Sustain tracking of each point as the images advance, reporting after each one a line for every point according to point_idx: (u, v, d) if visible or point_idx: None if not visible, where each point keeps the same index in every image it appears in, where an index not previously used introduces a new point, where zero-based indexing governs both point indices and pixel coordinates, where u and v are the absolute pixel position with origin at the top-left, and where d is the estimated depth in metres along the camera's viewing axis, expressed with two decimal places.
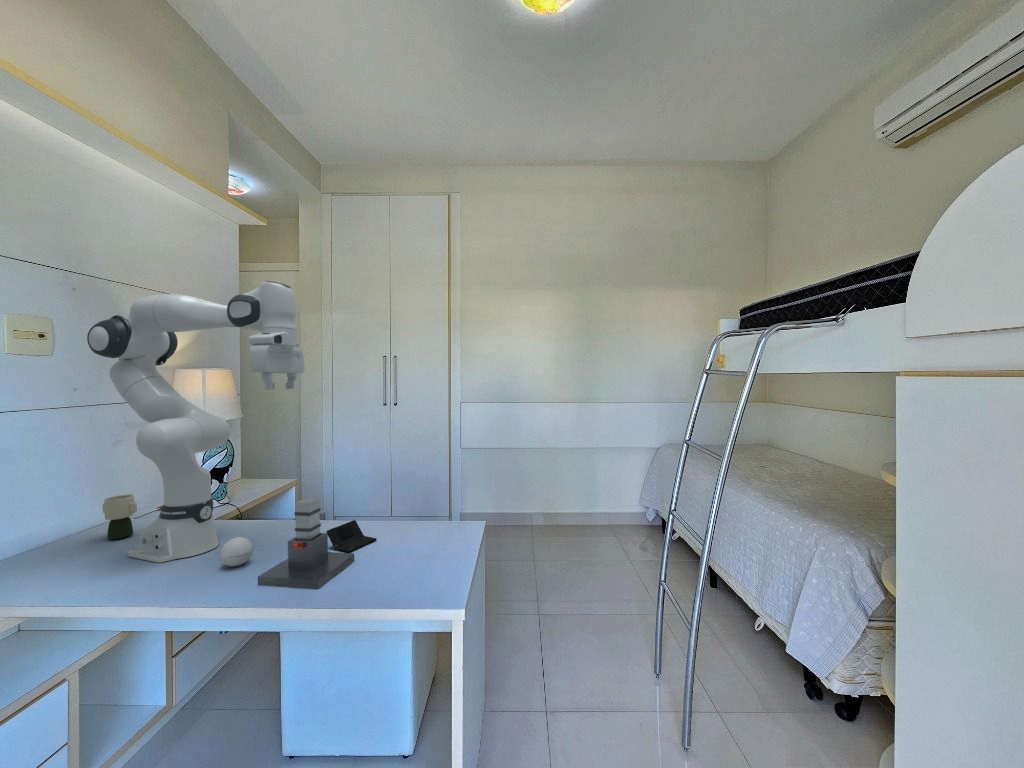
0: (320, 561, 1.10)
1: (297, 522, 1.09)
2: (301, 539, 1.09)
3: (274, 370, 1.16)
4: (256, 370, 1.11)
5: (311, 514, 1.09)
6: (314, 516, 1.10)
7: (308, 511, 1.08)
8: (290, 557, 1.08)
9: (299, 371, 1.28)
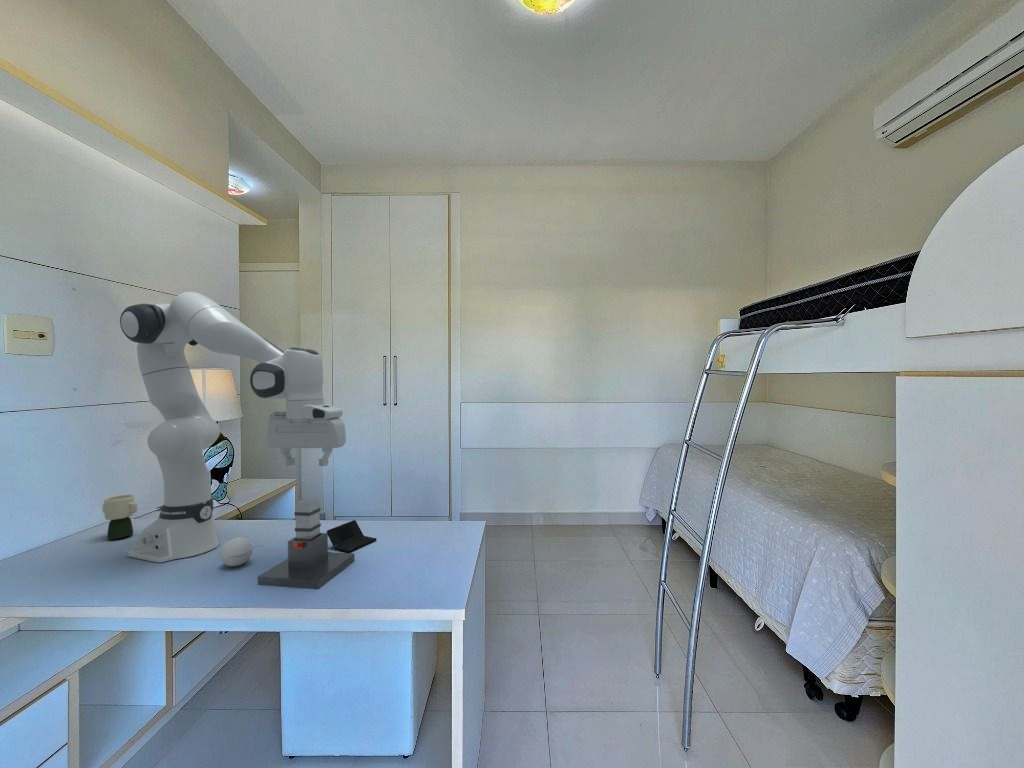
0: (320, 561, 1.10)
1: (297, 522, 1.09)
2: (301, 539, 1.09)
3: None
4: (341, 445, 1.09)
5: (311, 514, 1.09)
6: (314, 516, 1.10)
7: (308, 511, 1.08)
8: (290, 557, 1.08)
9: None
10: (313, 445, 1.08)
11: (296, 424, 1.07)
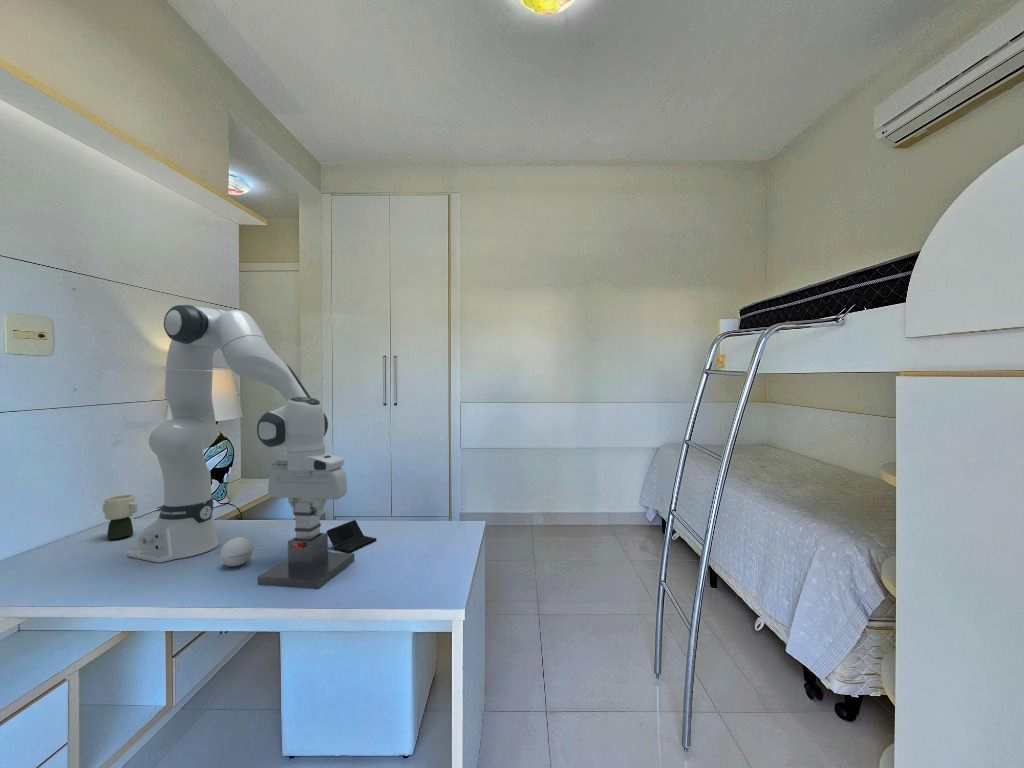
0: (320, 561, 1.10)
1: (297, 522, 1.09)
2: (301, 539, 1.09)
3: None
4: (342, 496, 1.09)
5: (311, 514, 1.09)
6: (314, 516, 1.10)
7: (308, 511, 1.08)
8: (290, 557, 1.08)
9: None
10: (314, 496, 1.08)
11: (297, 475, 1.08)
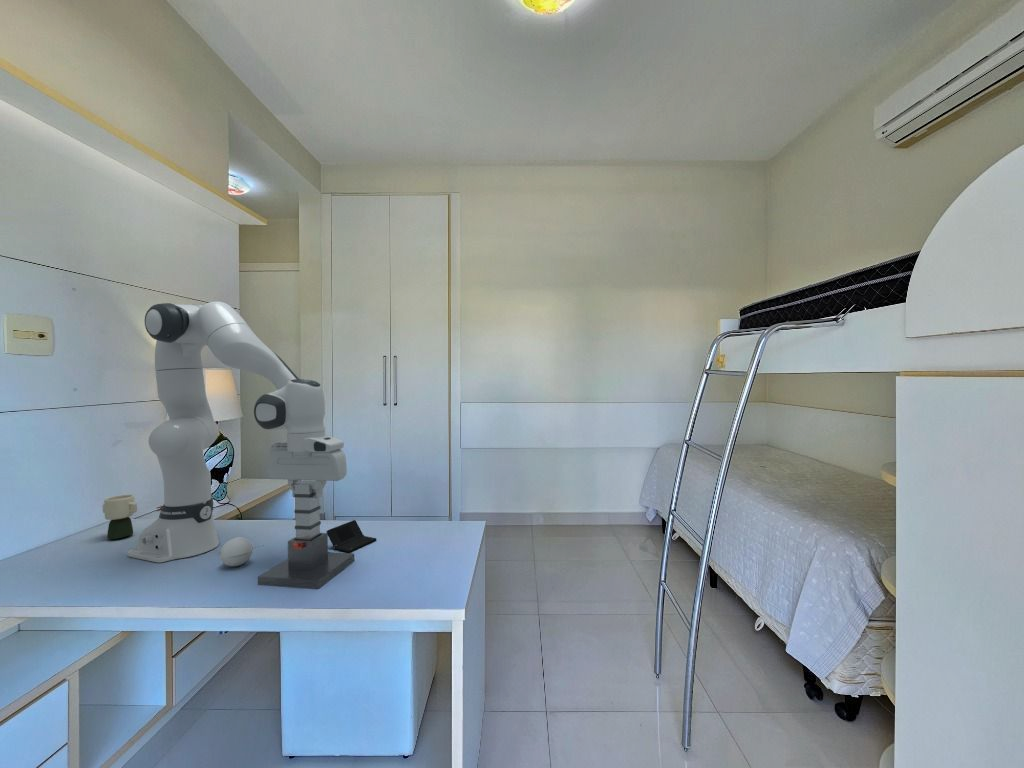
0: (320, 561, 1.10)
1: (297, 504, 1.09)
2: (301, 521, 1.09)
3: None
4: (341, 478, 1.09)
5: (311, 496, 1.09)
6: (314, 498, 1.10)
7: (308, 493, 1.08)
8: (290, 557, 1.08)
9: None
10: (314, 477, 1.08)
11: (297, 456, 1.08)
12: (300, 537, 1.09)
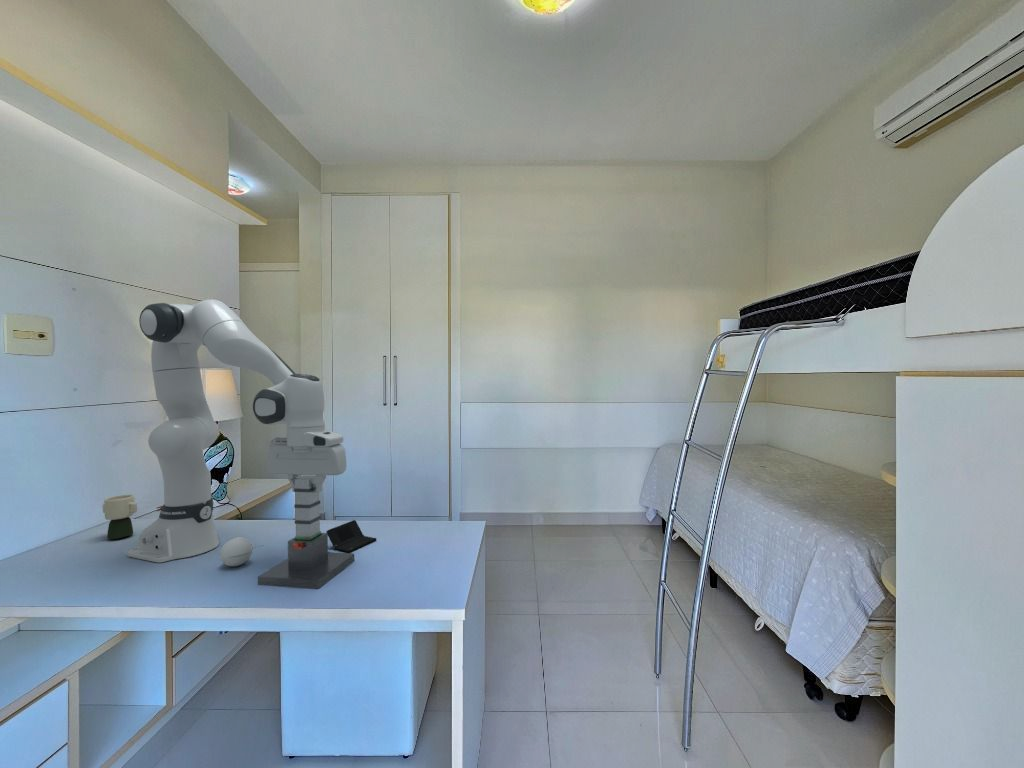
0: (320, 561, 1.10)
1: (297, 498, 1.09)
2: (301, 515, 1.09)
3: None
4: (341, 472, 1.09)
5: (311, 490, 1.09)
6: (314, 493, 1.10)
7: (308, 487, 1.08)
8: (290, 557, 1.08)
9: None
10: (314, 472, 1.08)
11: (297, 451, 1.07)
12: (300, 531, 1.09)
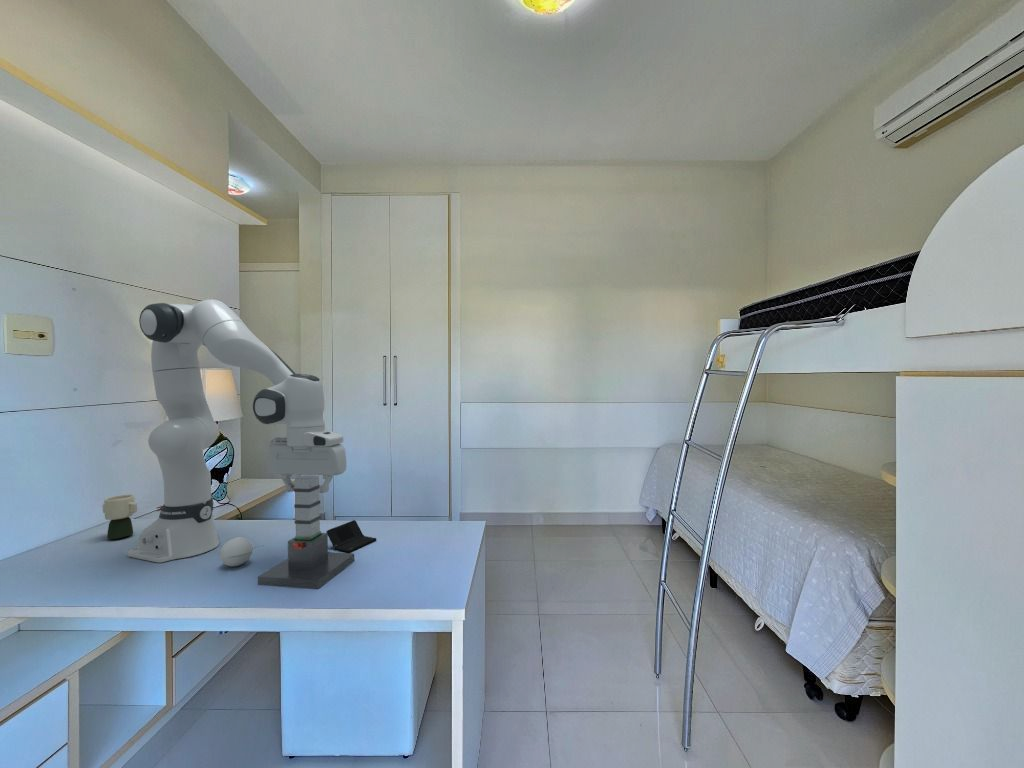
0: (320, 561, 1.10)
1: (297, 498, 1.09)
2: (301, 515, 1.09)
3: None
4: (341, 472, 1.09)
5: (311, 490, 1.09)
6: (314, 493, 1.10)
7: (308, 487, 1.08)
8: (290, 557, 1.08)
9: None
10: (314, 472, 1.08)
11: (297, 451, 1.07)
12: (300, 531, 1.09)
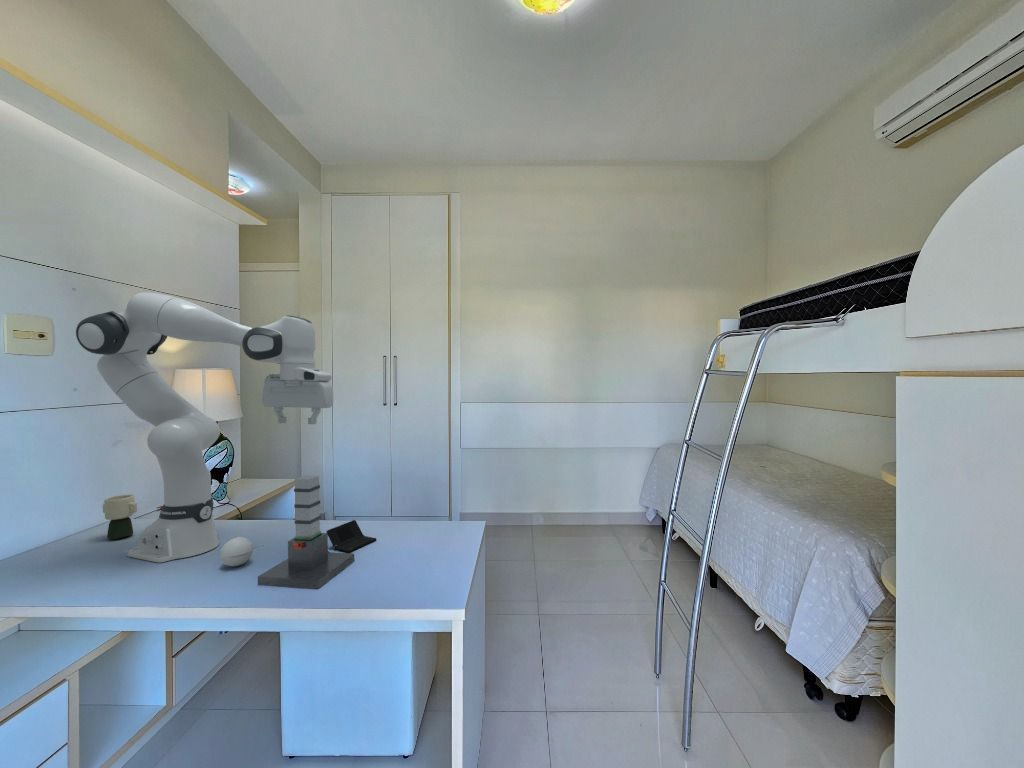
0: (320, 561, 1.10)
1: (297, 498, 1.09)
2: (301, 515, 1.09)
3: None
4: (328, 406, 1.19)
5: (311, 490, 1.09)
6: (314, 493, 1.10)
7: (308, 487, 1.08)
8: (290, 557, 1.08)
9: None
10: (303, 405, 1.19)
11: (288, 385, 1.18)
12: (300, 531, 1.09)
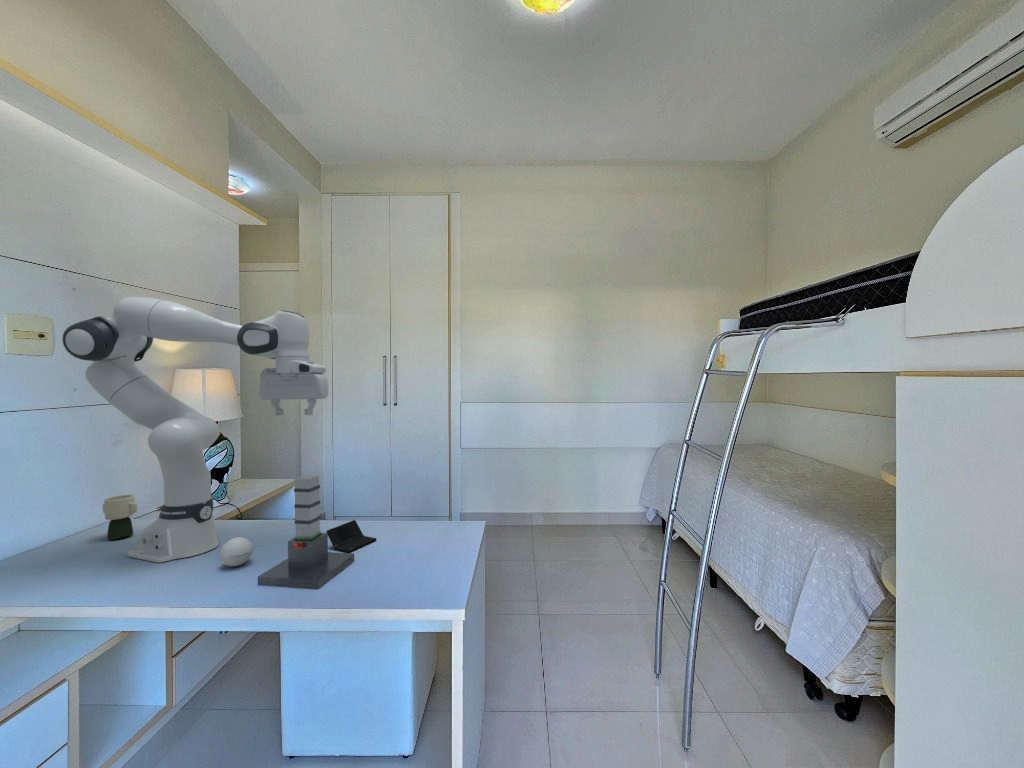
0: (320, 561, 1.10)
1: (297, 498, 1.09)
2: (301, 515, 1.09)
3: None
4: (323, 397, 1.24)
5: (311, 490, 1.09)
6: (314, 493, 1.10)
7: (308, 487, 1.08)
8: (290, 557, 1.08)
9: None
10: (299, 396, 1.23)
11: (284, 377, 1.22)
12: (300, 531, 1.09)
